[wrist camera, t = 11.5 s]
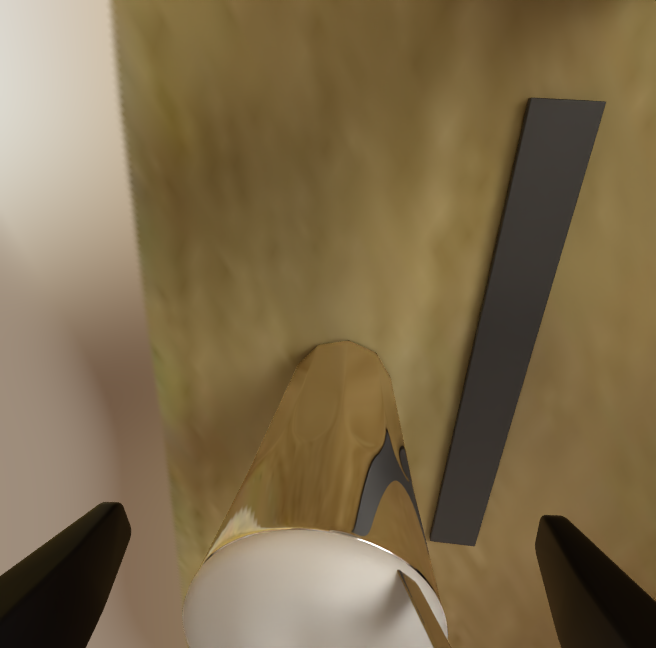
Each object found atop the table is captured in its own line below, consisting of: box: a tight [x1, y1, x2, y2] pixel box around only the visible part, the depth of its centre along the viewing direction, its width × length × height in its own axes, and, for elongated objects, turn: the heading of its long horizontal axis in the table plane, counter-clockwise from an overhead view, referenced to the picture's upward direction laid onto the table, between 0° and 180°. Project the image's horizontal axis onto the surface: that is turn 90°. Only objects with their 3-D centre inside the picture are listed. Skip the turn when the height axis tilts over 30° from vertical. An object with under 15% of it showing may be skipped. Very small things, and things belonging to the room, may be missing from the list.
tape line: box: [430, 98, 606, 546], centre depth 14 cm, size 16×2×1 cm, turn 177°
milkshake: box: [182, 340, 451, 648], centre depth 10 cm, size 4×5×10 cm
